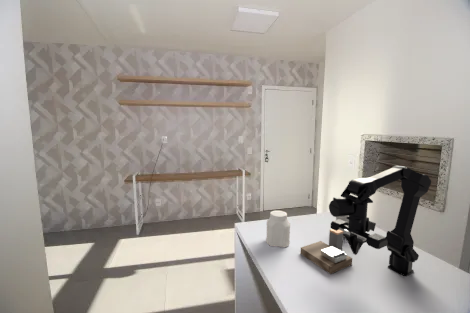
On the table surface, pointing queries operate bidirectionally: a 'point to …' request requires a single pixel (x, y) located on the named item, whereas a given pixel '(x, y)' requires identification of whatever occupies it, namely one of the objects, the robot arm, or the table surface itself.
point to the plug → (336, 239)
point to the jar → (278, 229)
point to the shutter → (333, 254)
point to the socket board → (315, 256)
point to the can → (343, 220)
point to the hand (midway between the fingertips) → (355, 254)
